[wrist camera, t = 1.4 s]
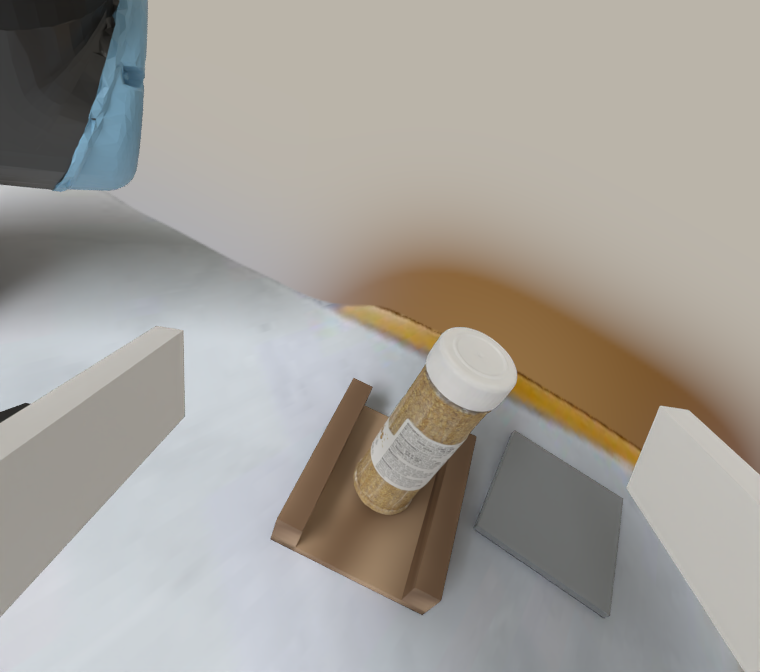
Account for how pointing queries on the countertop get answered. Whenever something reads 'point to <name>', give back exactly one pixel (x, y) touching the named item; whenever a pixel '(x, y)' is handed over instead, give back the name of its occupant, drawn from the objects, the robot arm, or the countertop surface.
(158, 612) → the countertop surface
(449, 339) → the spice jar
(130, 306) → the countertop surface
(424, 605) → the walnut cradle
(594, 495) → the slate coaster
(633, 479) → the robot arm
